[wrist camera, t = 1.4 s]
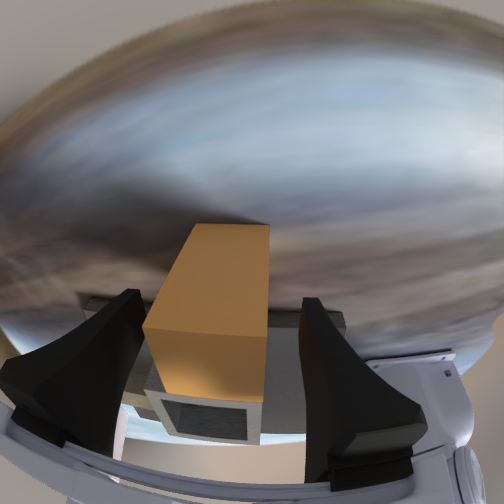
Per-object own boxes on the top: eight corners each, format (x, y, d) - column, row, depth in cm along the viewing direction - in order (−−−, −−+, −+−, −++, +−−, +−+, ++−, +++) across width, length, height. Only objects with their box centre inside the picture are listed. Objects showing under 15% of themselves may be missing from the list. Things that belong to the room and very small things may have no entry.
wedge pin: (269, 225, 15) (267, 337, 8) (267, 285, 17) (263, 402, 10) (196, 223, 15) (141, 326, 9) (202, 283, 17) (166, 392, 11)
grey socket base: (342, 312, 18) (355, 365, 14) (308, 421, 26) (309, 458, 22) (91, 297, 19) (63, 338, 15) (144, 406, 27) (133, 439, 23)
